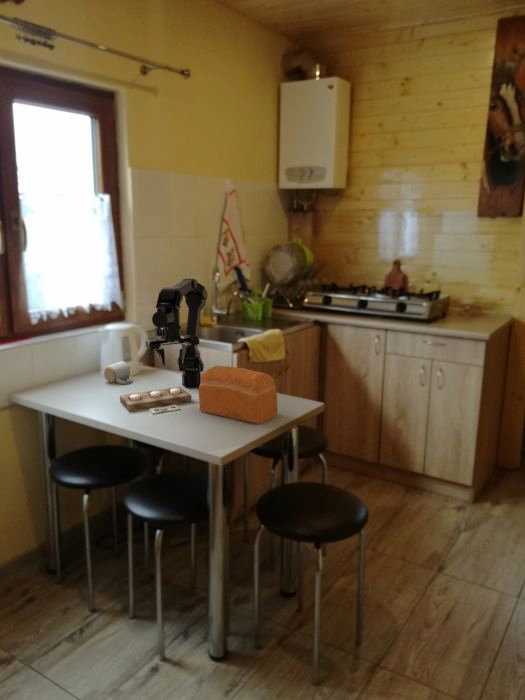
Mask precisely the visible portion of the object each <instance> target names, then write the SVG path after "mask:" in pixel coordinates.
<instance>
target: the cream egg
mask: <svg viewBox="0 0 525 700" xmlns="http://www.w3.org/2000/svg"><path fill="white" fill-rule="evenodd" d="M132 394H133V395H130V401H134V400H140V395H139V394H134V393H132Z"/></svg>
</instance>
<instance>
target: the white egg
mask: <svg viewBox="0 0 525 700" xmlns="http://www.w3.org/2000/svg"><path fill="white" fill-rule="evenodd" d="M173 388H174V389H171V390H170V394H171V395H174V394H180V389H178V388H175V387H173Z"/></svg>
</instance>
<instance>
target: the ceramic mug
mask: <svg viewBox="0 0 525 700" xmlns="http://www.w3.org/2000/svg"><path fill="white" fill-rule="evenodd" d="M103 375H104V378H105V380H106V381H107V382H108V383H111V384H115V383H119V384H121V385H127V384H130V383H131V382H132V377H131V370H130V366H129V365H128V364H127V363H126V362H125V361H122V360H120V361H118V362H115V363H113V364H110V365H107V366H106V367H105V368H104V370H103Z"/></svg>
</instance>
